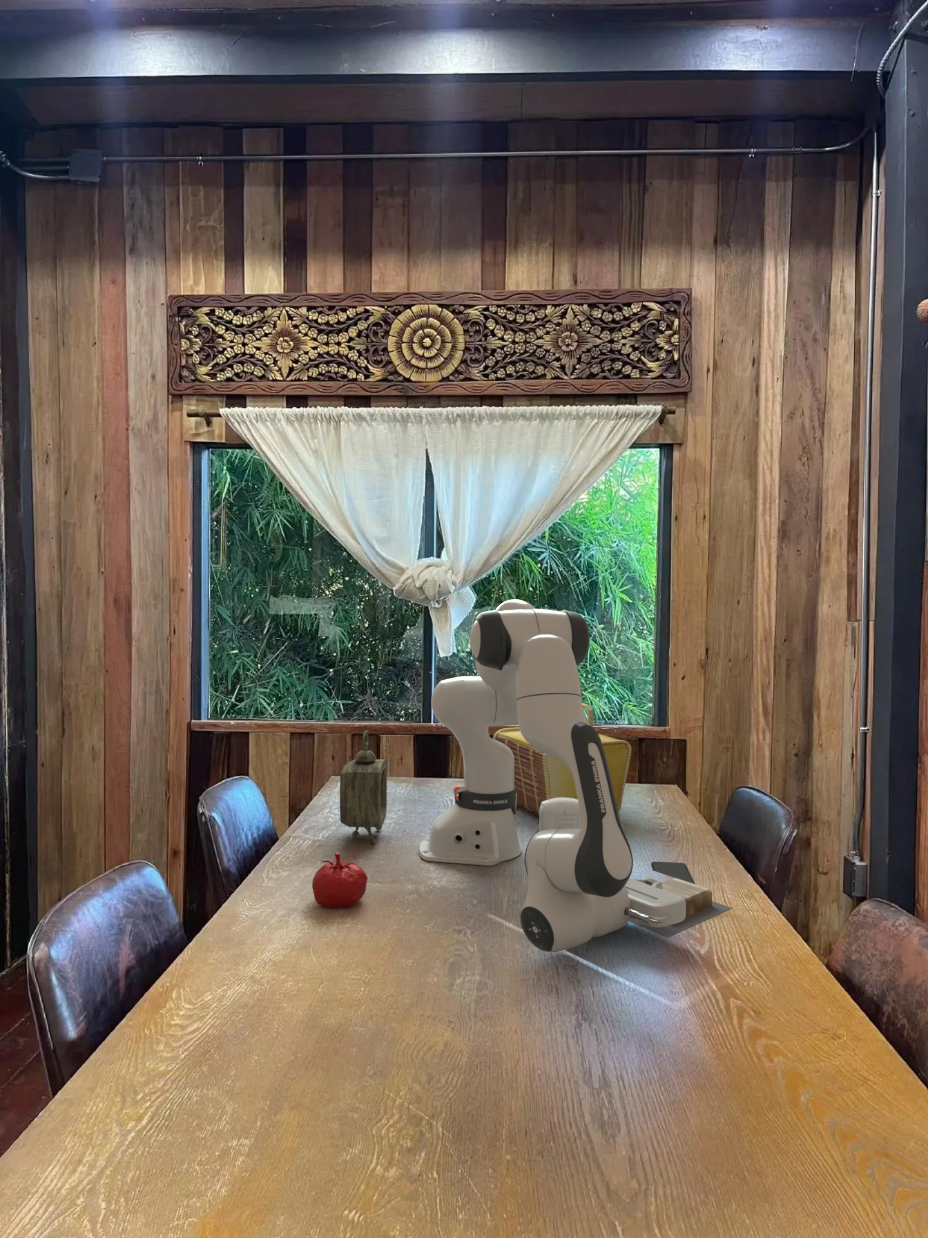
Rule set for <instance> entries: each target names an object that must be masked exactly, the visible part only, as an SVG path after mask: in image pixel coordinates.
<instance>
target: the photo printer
mask: <svg viewBox="0 0 928 1238" xmlns="http://www.w3.org/2000/svg"><path fill="white" fill-rule="evenodd" d="M538 816H539V817H538V818H539V819H538V821H539V822H538V823H539V824H538V831H540V830H544V829H581V828H582V818H581V813H580V808H579V803H578V800H577V799H573V798H553V799H549V800H546V801H543V802H541V805H540V811H539V815H538Z"/></svg>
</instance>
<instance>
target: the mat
mask: <svg viewBox="0 0 928 1238" xmlns="http://www.w3.org/2000/svg"><path fill="white" fill-rule="evenodd" d="M729 910H733V908H732V907H730V906H728V905H725V904H722V903H719V902H716V901H713V900H712V906H710V907H707V908H705V909H703V910H700V911H698V912H696V913H694V914H691V915H689V916H687V917H685V919H684V920H683V921H681V922H679V923H676V924H672V925H669V926H665V927H651V926H648V925H645V924H643V923H640V922H638V921H635V920H633V919H630V918H629V921H628V922H630V923H631V924H634V925H638V926H640V927H642V928H645V929H646V930H649V931H651V932H654V933H657V934H659V935H661V936H664V937H666V938H671V937H672V936H675V935H676V934H679V933H681V932H683V931H686V930H687V929H690V928H692V927H694V926H697V925H699V924H701V923H703V922H705V921H707V920H709V919H712V918H714V917H716V916H718V915H721V914H723V913H726V912H727V911H729Z"/></svg>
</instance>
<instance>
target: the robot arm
mask: <svg viewBox="0 0 928 1238" xmlns="http://www.w3.org/2000/svg"><path fill="white" fill-rule="evenodd" d="M589 629H590V628H589V625H588V623H587V621H586V619H585V618H584V617H583V616H582V615H581V614H579V613H577V612H574V611H571V610H566V609H565V610H563V609H562V610H554V609H553V610H552V609H544V608H536V607H534V606H533V605H532V604H531V603H529V602H527V601H525V600H521V599H517V598H516V599H515V598H514V599H509V600H505V601H504V602H502V603H501V604H499V605H498V606H497V607H496V608H495V609H492V610H487V611H483V612H480V613H478V614H477V616H476V617H475V619H474V620H473V623H472V626H471V630H470V633H469V634H470V635H469V644H470V645H469V646H470V649H471V651H472V657H473V658H474V660H475V669H476V672H477V674H478V675H465V676H464V675H462V676H456V677H451V678H446V679H443V680H440V681H439V682H438V683H437V684H436V686H435V687H434V689H433V691H432V695H431V702H430V704H431V710H432V712H433V715H434V716H435V718H436V720H438V722H440V723H441V724H442V725H443V726H445V727H446V728H447V729H448V730H449V731H451V733H452V735H454V737H455V738H456V740H457V742H458V745H459V746H460V749H461V750H460V751H461V753H462V759H463V774H464V775H463V777H464V779H463V780H464V783H463V784H464V786H461V785H460V784H456V785H454V787H453V794H454V804H453V805H452V806H451V807H449V808H448V809H447V810H445V811H444V812H442V813H441V814H440V815H438V816H437V817H436V818H435V819H434V820H433V822H432V824H431V827H430V830H429V836H428V837H427V838H424V839H423V840H422V841H421V842H420V844H419V850H418V851H419V852H418V854H419V857H420V858H422V859H423V860H424V861H429V862H437V863H438V862H440V863H452V864H465V865H467V864H468V865H479V866H494V865H497V864H499V863H500V862H504V861H509V860H512V859H515V858H517V857H518V856H520V854H521V853H522V848H521V845H520V841H519V836H518V831H517V830H518V829H517V823H516V813H517V809H518V808H517V805H518V804H517V793H516V788H515V787H514V755H513V753H512V751H511V750H510V748H509V747H507V746H506V745H504V744H503V743H501V742H499V741H497V740H494V739H493V737H491V736H490V733H489V727H492V726H495V727H497V726H518V727H519V729H520V732H521V734H522V736H523V737H524V738H525V740H526V741H527V742H528V743H529V744H530V745H532V746H533V747H535V748H536V749H538V750H539V751H542V752H544V753H547V754H549V755H552V756H554V757H556V758H558V759H560V760H561V761H562V762H564V763H565V764H566V765H567V767H568V768H569V769H570V771H571V773H572V775H573V779H574V783H575V788H576V793H577V798H578V803H579V808H580V813H581V818H582V828H581V829H544V830H540V831H539V830H538V831H537V832H535V834H533V835H532V836H531V838H530V839H529V841H528V843H527V844H526V848H525V851H524V861H523V862H524V867H525V872H526V877H527V891H526V898H525V901H524V903H523V905H522V907H521V910H520V914H519V918H520V919H519V921H520V925H521V929H522V931H523V933H524V935H525V937H526V939H527V940H528V941H529V942H530V943H531V944H532V945H533V946H534V947H535V948H537V949H539V950H540V951H543V952H547V953H558V952H562V951H566V950H570V949H572V948H573V949H574V948H576V947H578V946H581V945H584V944H585V943H587V942H589V941H590V940H591V939H592V938H598V937H602V936H605V935H608V934H610V933H612V932H615V931H617V930H619V929H622V928H624V927H625V926H626V925H627V924H628V923H629V922H630V921H629V918H630V919H633V920H635V921H638V922H640V923H643V924H645V925H648V926H651V927H665V926H669V925H672V924H676V923H679V922H681V921H683V920H684V919H685V916H686V902H685V899H684V898H683V897H681V896H679V895H676V894H673V893H670V892H667V891H665V890H662V883H663V882H662V881H659V880H658V879H657V880H656V879H653V878H651V877H645V878H631V876H632V872H633V866H634V857H633V853H632V848H631V846H630V843H629V841H628V838H627V836H626V833H625V830H624V828H623V825H622V820H621V816H620V811H619V812H618V808H617V803H616V799H615V794H614V790H613V785H612V781H611V777H610V772H609V768H608V763H607V759H606V755H605V751H604V748H603V745H602V742H601V739H600V737H599V735H598V734H599V733H598V732H597V730H596V729H595V728H594V726H593V727H592V726H590V725H589V723H588V718H587V717H586V714H585V710H584V708H583V706H582V703H583V700H582V690H581V683H580V676H579V672H578V667H577V666H578V665H580V664H582V662H583V661H584V660H585V658H587V656H588V652H589V648H590V641H591V639H590V630H589Z"/></svg>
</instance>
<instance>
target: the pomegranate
mask: <svg viewBox="0 0 928 1238" xmlns="http://www.w3.org/2000/svg"><path fill="white" fill-rule="evenodd" d="M334 857H335V862H333V861H331V859H326V860H321V862H322V863H326V864H323V865H322V866H321V867H320V868H319V869H318V870H317V871H316V872H315V874H314V876H313V879H312V883H311V884H312V892H313V897H314V900H315V902H316V903H317V905H318V906H321V907H322V908H328V909H329V908H330V909H340V908H341V909H347V908H350V907H352V906H354V905H356V904H358V903H359V902H360V901H361V900H362V899H363V897H364V895H365V894H366V890H367V883H368V875H367V873H366V871H365V870H364V869H363V868H362V867H361V866H360V865H359V864H356V863H355V862H349V861H350V860H356V859H357V858H356V857H354V858H353V857H351V858H348V859H345V860H344V861H343V862H342V861H341V853H339V852H334Z"/></svg>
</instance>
